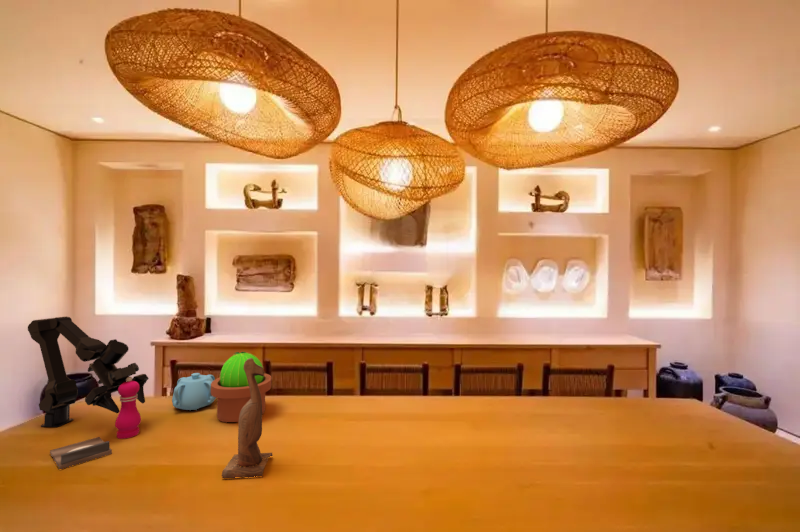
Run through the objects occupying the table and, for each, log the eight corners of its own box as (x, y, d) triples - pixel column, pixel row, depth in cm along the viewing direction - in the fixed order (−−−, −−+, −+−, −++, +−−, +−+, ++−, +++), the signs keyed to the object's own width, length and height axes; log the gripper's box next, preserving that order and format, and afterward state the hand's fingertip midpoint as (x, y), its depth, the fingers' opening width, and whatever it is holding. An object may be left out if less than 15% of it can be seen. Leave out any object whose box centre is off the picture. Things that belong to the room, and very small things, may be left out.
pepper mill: (127, 440, 123) (128, 380, 123) (109, 438, 124) (110, 379, 124) (146, 431, 130) (147, 374, 130) (129, 429, 131) (130, 373, 131)
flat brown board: (49, 454, 113) (50, 442, 113) (99, 440, 123) (99, 429, 123) (59, 470, 105) (59, 457, 105) (111, 453, 114) (111, 441, 114)
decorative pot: (213, 411, 149) (214, 377, 149) (167, 415, 143) (168, 380, 144) (219, 397, 164) (219, 367, 164) (177, 401, 159) (178, 369, 159)
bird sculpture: (265, 479, 102) (271, 363, 103) (220, 481, 100) (226, 363, 101) (272, 458, 113) (277, 354, 114) (232, 460, 111) (237, 354, 112)
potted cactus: (267, 423, 138) (268, 356, 138) (203, 428, 133) (204, 359, 133) (273, 402, 159) (274, 344, 159) (218, 406, 154) (219, 346, 154)
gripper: (92, 364, 119) (118, 401, 116) (145, 351, 137) (168, 384, 134) (73, 386, 121) (98, 423, 118) (128, 371, 139) (151, 403, 136)
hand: (131, 407), depth 127 cm, fingers open, 9 cm apart
